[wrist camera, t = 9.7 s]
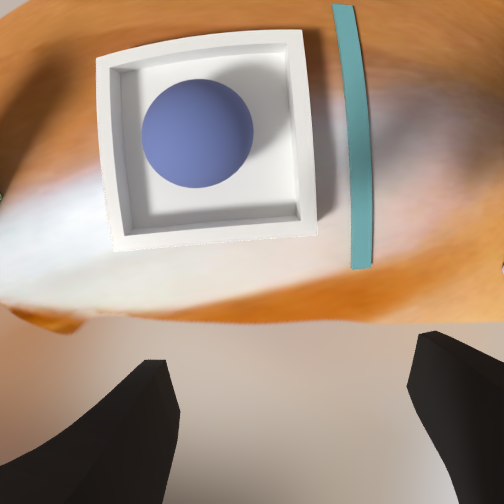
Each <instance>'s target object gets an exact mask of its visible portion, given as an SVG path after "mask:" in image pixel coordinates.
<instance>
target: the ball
mask: <svg viewBox="0 0 504 504" xmlns="http://www.w3.org/2000/svg"><path fill="white" fill-rule="evenodd" d="M253 135H254V129H253V121H252V117H251V114H250V112H249V109H248V107H247V105H246V104H245V102H244V101H243V100H242V98H241V97H240V96H239V95H238V94H237V93H236V92H235V91H233V90H232V89H231V88H229V87H227V86H226V85H224V84H221V83H219V82H216V81H212V80H207V79H191V80H186V81H182V82H179V83H177V84H174V85H172V86H171V87H169V88H167V89H166V90H164V91H163V92H162V93H161V94H160V95H159V96H157V97H156V99H155V100H154V101H153V102H152V104H151V105H150V107H149V108H148V110H147V112H146V114H145V117H144V120H143V124H142V132H141V139H142V146H143V151H144V153H145V156H146V158H147V160H148V162H149V164H150V165H151V166H152V168H153V169H154V170H155V171H156V172H157V173H158V174H159V175H160V176H161V177H163V178H164V179H166V180H167V181H169V182H171V183H173V184H175V185H178V186H182V187H187V188H204V187H209V186H213V185H216V184H219V183H221V182H223V181H225V180H226V179H228V178H229V177H231V176H232V175H233V174H234V173H236V172H237V171H238V170H239V168H240V167H241V166H242V165H243V163H244V162H245V160H246V159H247V157H248V155H249V153H250V150H251V147H252V143H253Z"/></svg>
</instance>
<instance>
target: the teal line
mask: <svg viewBox="0 0 504 504" xmlns="http://www.w3.org/2000/svg"><path fill="white" fill-rule="evenodd" d="M332 9H333V15H334V21H335V27H336V33H337V39H338V46H339V53H340V60H341V68H342V76H343V85H344V95H345V105H346V116H347V128H348V143H349V160H350V184H351V269H352V270H354V269H364V268H371V252H372V170H371V148H370V132H369V119H368V108H367V98H366V88H365V80H364V72H363V64H362V57H361V51H360V44H359V38H358V32H357V27H356V21H355V16H354V11H353V6H351V5H342V4H333V5H332Z"/></svg>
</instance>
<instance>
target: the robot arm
mask: <svg viewBox="0 0 504 504" xmlns="http://www.w3.org/2000/svg"><path fill="white" fill-rule="evenodd" d="M502 271H503V274H504V266H503V269H502ZM407 389H408V392H409V395H410V397H411V400H412V403H413V405H414V408H415V410H416V413H417V414H418V416H419V418H420V420H421V422H422V424H423V426H424V427H425V429H426V431H427V433H428V435H429V437H430V438H431V440H432V442H433V444H434V446H435V447H436V449H437V451H438V453H439V455H440V457H441V459H442V460H443V462H444V464H445V466H446V468H447V471H448V472H449V475H450V477H451V480H452V483H453V486H454V489H455V492H456V495H457V498H458V501H459V504H504V362H501V361H499V360H497V359H495V358H493V357H491V356H489V355H487V354H485V353H483V352H481V351H479V350H476V349H475V348H473V347H471V346H468V345H466V344H464V343H462V342H460V341H458V340H456V339H454V338H452V337H450V336H448V335H445V334H443V333H440V332H438V331H431V332H427V333H422V334H419V335H418V340H417V345H416V350H415V354H414V358H413V363H412V367H411V371H410V375H409V379H408V383H407ZM179 419H180V409H179V406H178V402H177V399H176V395H175V392H174V389H173V385H172V382H171V378H170V374H169V371H168V367H167V363H166V360H144V361H143V362H142V363H141V364H140V365H138V366H137V367H136V368H135V369H134V370H133V371H132V372H131V373H130V374H129V375H128V376H127V377H126V378H125V379H124V380H122V381H121V382H120V383H119V384H118V385H117V386H116V387H115V388H114V389H113V390H112V391H111V392H109V393H108V394H107V395H106V396H105V397H104V398H103V399H102V400H101V401H100V402H98V404H96V405H95V406H94V407H93V408H91V409H90V410H89V411H88V412H86V413H85V414H84V415H83V416H82V417H80V418H79V419H78V420H77V421H76V422H74V423H73V424H72V425H70V426H69V427H68V428H66V429H65V430H64V431H62V432H61V433H59V434H58V435H56V436H55V437H54V438H52V439H50V440H49V441H47V442H46V443H44V444H43V445H41V446H39V447H37V448H36V449H34V450H32V451H30V452H28V453H26V454H24V455H22V456H20V457H18V458H16V459H14V460H12V461H10V462H8V463H6V464H4V465H1V466H0V504H162V502H163V498H164V494H165V490H166V485H167V481H168V477H169V473H170V469H171V465H172V461H173V457H174V453H175V449H176V444H177V439H178V429H179Z"/></svg>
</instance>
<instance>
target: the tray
mask: <svg viewBox="0 0 504 504" xmlns="http://www.w3.org/2000/svg"><path fill="white" fill-rule="evenodd" d="M191 79H207V80H212V81H216V82H219V83H221V84H224V85H226V86H227V87H229V88H231V89H232V90H233V91H235V92H236V93H237V94H238V95H239V96H240V97H241V98H242V100H243V101H244V102H245V104H246V105H247V107H248V109H249V112H250V114H251V117H252V121H253V129H254V135H253V143H252V147H251V150H250V153H249V155H248V157H247V159H246V160H245V162H244V163H243V165H242V166H241V167H240V168H239V170H238V171H237V172H236V173H234V174H233V175H232V176H231V177H229V178H228V179H226V180H225V181H223V182H221V183H219V184H216V185H213V186H209V187H204V188H187V187H182V186H178V185H175V184H173V183H171V182H169V181H167V180H166V179H164V178H163V177H161V176H160V175H159V174H158V173H157V172H156V171H155V170H154V169H153V168H152V166H151V165H150V164H149V162H148V160H147V158H146V156H145V153H144V151H143V146H142V139H141V132H142V124H143V120H144V117H145V114H146V112H147V110H148V108H149V107H150V105H151V104H152V102H153V101H154V100H155V99H156V97H157V96H159V95H160V94H161V93H162V92H163V91H164V90H166V89H167V88H169V87H171V86H172V85H174V84H177V83H179V82H182V81H186V80H191ZM96 100H97V123H98V138H99V150H100V161H101V171H102V180H103V188H104V196H105V203H106V210H107V216H108V223H109V229H110V235H111V240H112V246H113V251H114V252H120V251H131V250H143V249H154V248H166V247H178V246H190V245H202V244H214V243H226V242H239V241H252V240H265V239H278V238H291V237H305V236H317V207H316V184H315V165H314V148H313V134H312V121H311V109H310V98H309V87H308V78H307V68H306V59H305V51H304V43H303V35H302V30H255V31H239V32H227V33H217V34H208V35H200V36H193V37H187V38H180V39H174V40H169V41H163V42H158V43H153V44H149V45H144V46H140V47H135V48H131V49H127V50H123V51H119V52H116V53H112V54H108V55H105V56H102V57H98V58H96Z"/></svg>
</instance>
